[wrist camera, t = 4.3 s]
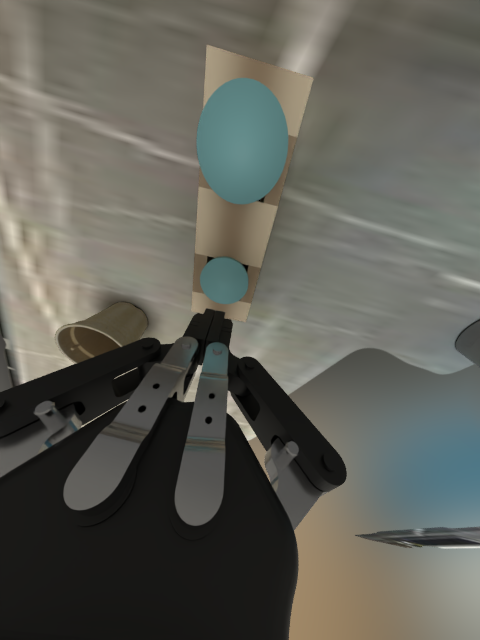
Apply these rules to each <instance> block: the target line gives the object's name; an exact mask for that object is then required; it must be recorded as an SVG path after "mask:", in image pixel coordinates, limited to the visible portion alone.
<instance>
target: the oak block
mask: <svg viewBox="0 0 480 640" xmlns="http://www.w3.org/2000/svg"><path fill="white" fill-rule="evenodd" d="M237 78H249V79H254V80H256V81H259V82H260V83H262V84H264V85H265V86H266V87H267V88H268V89H270V90H271V91H272V93H273V94H274V95H275V96H276V98H277V100H278V101H279V103H280V105H281V107H282V110H283V112H284V115H285V118H286V123H287V128H288V152H287V158H286V162H285V165H284V168H283V171H282V173H281V176H280V178H279V179H278V181H277V183H276V184H275V186H274V187H273V188H272V189H271V191H270V192H269V193H268V194H266V195H265V196H264V197H263V198H261V202H260V201H255V202H253V203H250V204H234V203H231V202H228V201H226V200H224V199H223V198H221V197H220V196H218V195H217V194H216V193H215V192H214V191H213V190H212V188H211V187H210V186H209V184H208V183H207V181H206V179H205V177H204V175H203V173H202V170H201V167H200V172H199V190H198V207H197V224H196V241H195V258H194V275H193V293H192V310H191V311H192V312H197V313H202V314H204V312H205V310H206V308H208V309H213V310H218V311H223V312H225V318H227V319H232V320H237V321H242V322H246V320H247V316H248V312H249V309H250V305H251V302H252V298H253V294H254V291H255V287H256V284H257V280H258V276H259V273H260V269H261V266H262V262H263V258H264V255H265V251H266V248H267V244H268V240H269V237H270V233H271V230H272V226H273V222H274V219H275V215H276V212H277V208H278V204H279V201H280V197H281V194H282V190H283V186H284V183H285V179H286V176H287V172H288V168H289V165H290V161H291V158H292V154H293V150H294V147H295V143H296V140H297V136H298V132H299V129H300V125H301V122H302V118H303V115H304V111H305V107H306V104H307V100H308V97H309V93H310V89H311V86H312V82H313V79H314V78H312V77H309V76H306V75H303V74H299V73H296V72H293V71H290V70H287V69H283V68H280V67H277V66H274V65H271V64H267V63H264V62H261V61H258V60H254V59H251V58H248V57H245V56H242V55H238V54H235V53H232V52H229V51H226V50H222V49H219V48H216V47H213V46H210V45H207V52H206V70H205V87H204V104H203V109H204V107H205V105H206V103H207V101H208V99H209V98H210V97H211V95H212V94H213V93H214V92H215V91H216V90H217V89H218V88H219V87H220V86H221V85H223V84H224V83H226V82H228V81H230V80H232V79H237ZM221 256H226V257H231V258H234V259H236V260H237V261H239V262H240V263H241V264H245V265H246V268H245V269H246V271H247V274H248V289H247V292H246V294H245V295H244V296H243V297H242V298H241V299H240V300H239V301H237V302H235V303H232V304H220V303H216V302H214V301H212V300H211V299H209V298H208V297H207V296H206V295H205V293H204V292H203V290H202V288H201V284H200V275H201V272H202V270H203V268H204V267H205V265H206V264H207V263H208V262H209V261H210V260H212V259H214V258H216V257H221Z"/></svg>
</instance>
